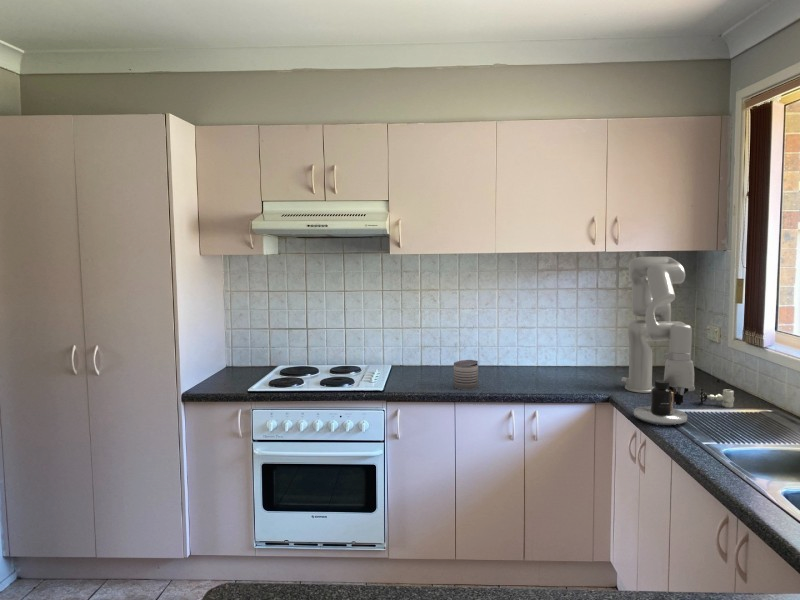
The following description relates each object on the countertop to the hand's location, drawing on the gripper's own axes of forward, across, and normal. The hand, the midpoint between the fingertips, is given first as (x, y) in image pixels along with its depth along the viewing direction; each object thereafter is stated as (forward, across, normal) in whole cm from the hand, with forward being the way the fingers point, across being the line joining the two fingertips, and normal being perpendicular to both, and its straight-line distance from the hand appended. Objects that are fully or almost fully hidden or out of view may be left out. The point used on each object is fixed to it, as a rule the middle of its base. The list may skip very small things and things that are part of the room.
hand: (678, 404), depth 214 cm
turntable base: (+4, -5, -10) cm, 12 cm away
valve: (+4, +11, +23) cm, 26 cm away
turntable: (+3, -5, -8) cm, 10 cm away
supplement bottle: (+2, -5, -10) cm, 11 cm away
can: (+4, -89, -4) cm, 89 cm away
